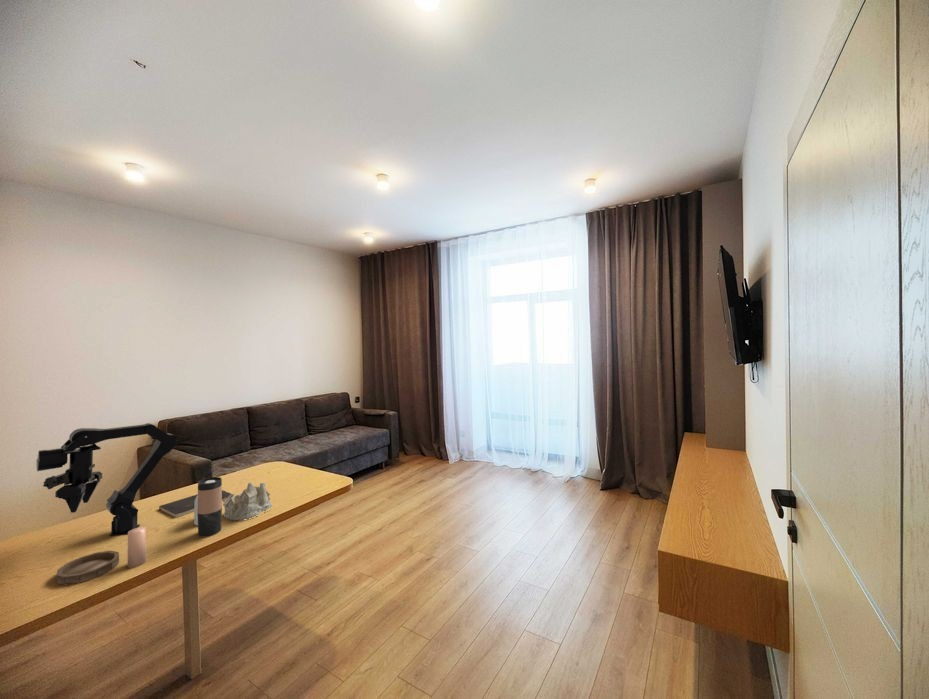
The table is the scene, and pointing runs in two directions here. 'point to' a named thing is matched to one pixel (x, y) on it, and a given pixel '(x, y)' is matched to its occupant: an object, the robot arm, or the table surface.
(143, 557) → the candle
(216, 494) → the travel mug
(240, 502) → the ceramic cottage
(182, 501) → the hardcover book
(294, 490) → the table surface
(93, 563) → the tray
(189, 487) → the table surface
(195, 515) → the photo printer
